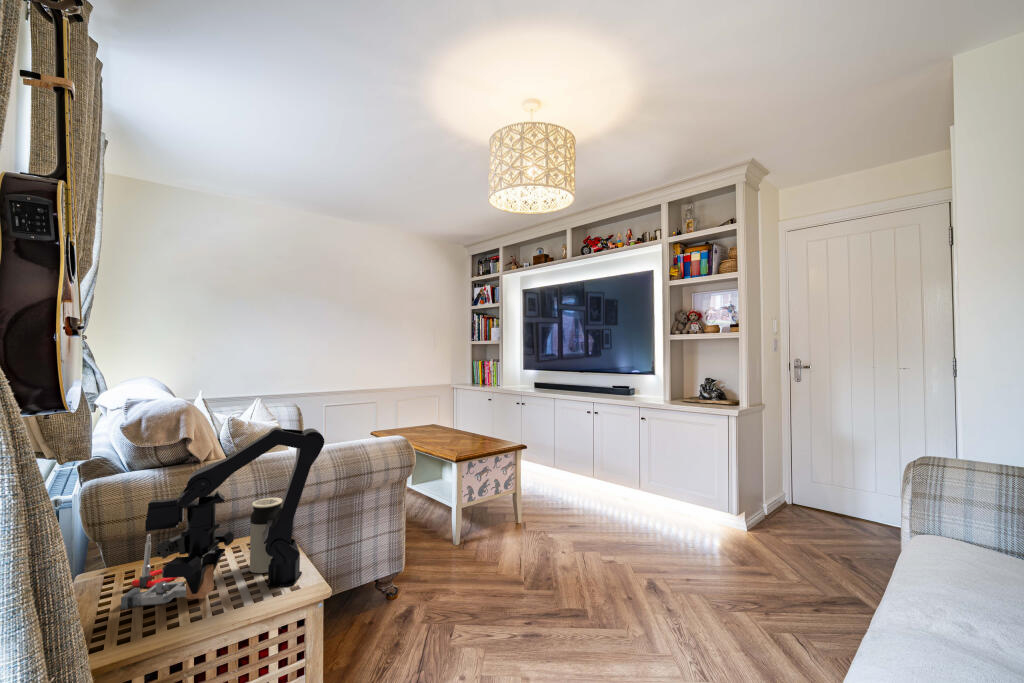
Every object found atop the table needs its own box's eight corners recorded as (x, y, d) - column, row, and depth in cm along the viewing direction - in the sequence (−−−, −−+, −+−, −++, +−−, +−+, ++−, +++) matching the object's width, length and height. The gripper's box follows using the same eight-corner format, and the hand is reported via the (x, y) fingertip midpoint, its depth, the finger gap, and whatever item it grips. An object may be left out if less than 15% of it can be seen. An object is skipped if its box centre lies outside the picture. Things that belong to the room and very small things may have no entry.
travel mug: (267, 575, 119) (268, 507, 119) (242, 572, 120) (243, 505, 121) (288, 562, 126) (290, 498, 127) (265, 558, 128) (266, 495, 129)
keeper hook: (171, 597, 108) (171, 579, 108) (159, 607, 104) (160, 587, 104) (133, 599, 107) (134, 580, 107) (120, 609, 103) (121, 589, 103)
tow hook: (161, 570, 122) (127, 586, 113) (165, 522, 123) (131, 534, 114) (188, 573, 121) (156, 589, 112) (191, 524, 122) (160, 537, 112)
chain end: (216, 586, 110) (216, 561, 110) (201, 600, 104) (201, 574, 104) (156, 590, 109) (156, 565, 109) (137, 605, 102) (137, 578, 102)
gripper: (189, 510, 115) (188, 571, 115) (136, 540, 97) (135, 613, 97) (234, 508, 117) (233, 568, 116) (191, 538, 98) (190, 610, 98)
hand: (200, 588), depth 107 cm, fingers closed on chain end, 4 cm apart
